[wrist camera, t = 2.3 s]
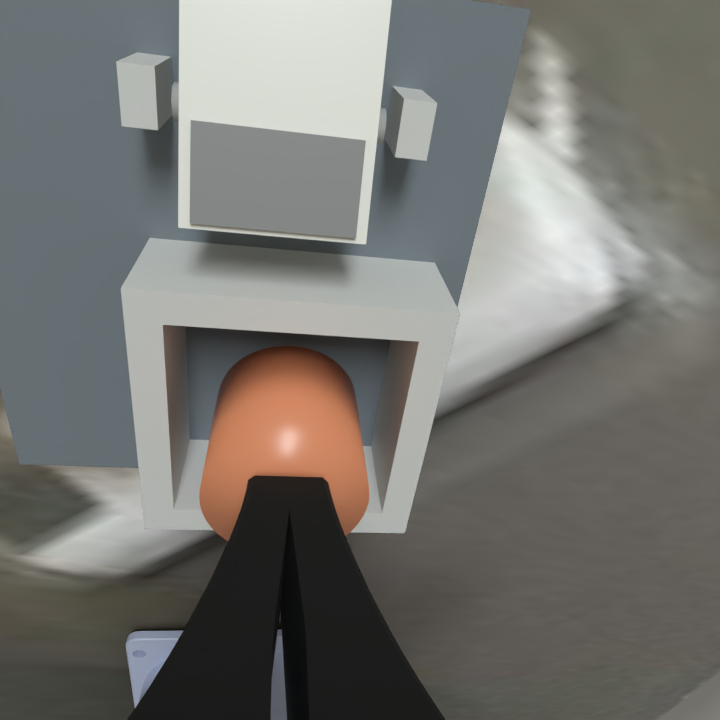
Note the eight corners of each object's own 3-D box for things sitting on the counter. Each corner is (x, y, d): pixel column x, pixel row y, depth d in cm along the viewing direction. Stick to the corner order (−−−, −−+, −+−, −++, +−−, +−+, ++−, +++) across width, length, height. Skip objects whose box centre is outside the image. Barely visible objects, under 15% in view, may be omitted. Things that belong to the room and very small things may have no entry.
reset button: (347, 457, 15) (358, 556, 12) (217, 453, 14) (200, 554, 12) (364, 350, 13) (381, 438, 10) (217, 340, 12) (197, 431, 10)
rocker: (368, 237, 11) (377, 246, 10) (178, 219, 11) (164, 226, 10) (392, 5, 10) (407, -17, 9) (179, -28, 10) (163, -55, 8)
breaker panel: (404, 432, 19) (431, 543, 15) (45, 417, 17) (-24, 538, 14) (499, 6, 13) (586, 16, 9) (-56, -82, 11) (-240, -115, 7)
